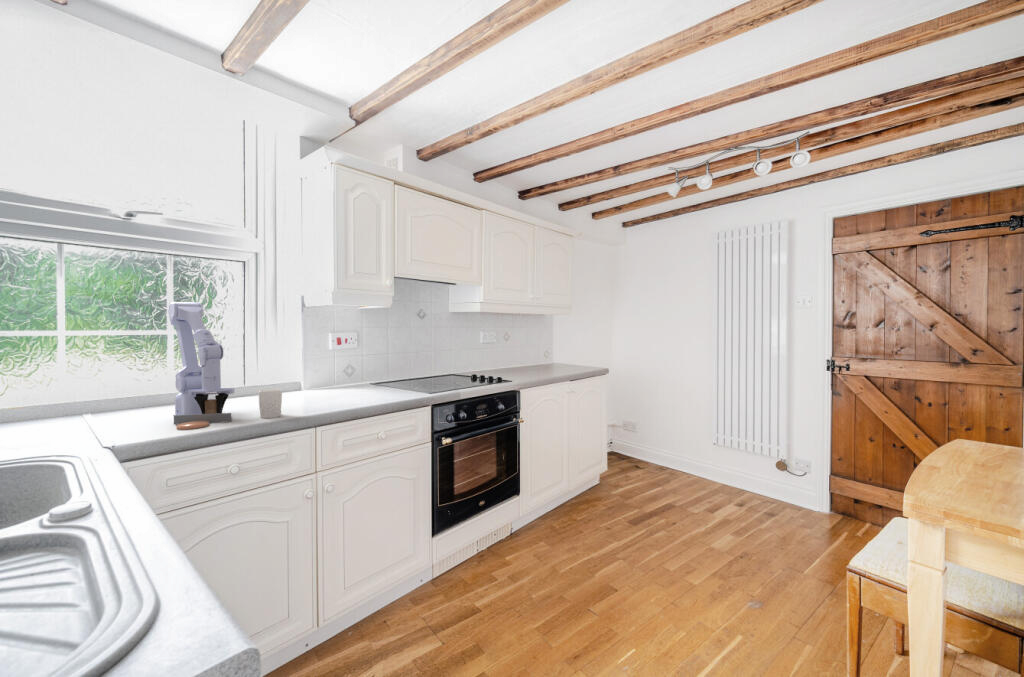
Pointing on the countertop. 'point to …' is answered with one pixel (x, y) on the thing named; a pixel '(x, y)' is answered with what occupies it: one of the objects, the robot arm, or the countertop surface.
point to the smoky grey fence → (203, 418)
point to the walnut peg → (210, 406)
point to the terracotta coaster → (192, 425)
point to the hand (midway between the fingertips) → (212, 414)
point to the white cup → (270, 403)
